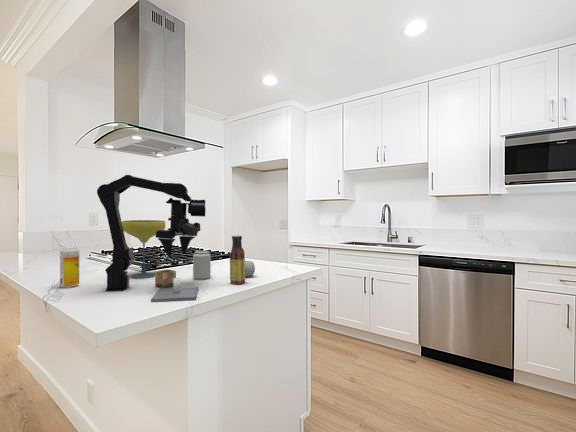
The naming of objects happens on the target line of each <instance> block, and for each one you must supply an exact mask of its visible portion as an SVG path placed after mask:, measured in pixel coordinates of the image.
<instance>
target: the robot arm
mask: <svg viewBox="0 0 576 432" xmlns="http://www.w3.org/2000/svg"><path fill="white" fill-rule="evenodd" d="M131 187H136V188H142V189H145V190H151V191H155V192H160V193H164V194H166V195H167V196H170V197H169V199H168V200H167V201H165V203H166V204H170V207H171V208H170V217H168V221H169V222H170V225H169V226H170V227H169V228H167V229H164V230H158V231H157V232H156V235H155V238H157V240H159V242H160V243H161V245H162V247H163V249H164V251H165V254H166V255H167V257H171V256H172V248H173V243H174V242H175V241H176V238H175V237H177V236H179V242H180V248H181V249H180V250H181V253H182V254H183V255H184V254H185V255H186V253H187V251H188V248H189V245H190V243H191V241H192V240H193V239H196V237H198V233H199V232H201V223H200V222H194V223H190V220H189V218H187V213H188V214H189V215H190V216H191V217H201V218H202V217H206V212H207V211H206V210H207V209H206V200H205V199H192V196H190V195H189V194H188V193H189V192H188V188H187V187H186V185H184V184H182V183H180V182H179V183H178V182H177V183H176V182H162V181H161V182H160V181H158V180H157V181H156V180H152V179H149V178H148V179H147V178H142V177H138V176H134V175H131V174H125V175H123V176H121V177H120V178H118V179H115V180H113V181H111V182H109V183H108V184H107V183H103V184H101V185H99V187H98V188H97V189H96V194H97V197H98V198H99V201H100V203H101V205H102V207H103V208H104V210H105V215H106V217H107V222H108V227H109V232H110V237H111V241H112V246H113V248H112V255H111V257H112V258H111V259H112V263H111V264H110V265H109V266H108V267H107V268H105V274H106V288H105V292H110V291H111V292H113V291H125V290H127V288H129V287H130V275H129V273H128V269H129V267H130V266H132V265H133V263H134V261H135V259H134V258H136V256H135V254H134V247H133V246H132V247H129V246H128V244H127V241H126V236H125V232H124V231H123V226H122V217H121V213H120V208H119V207H120V201H121V198H120V194H122V193H123V192H126V190H128V189H130V188H131ZM172 197H173V198H176V199H173V198H172ZM182 200H183V201H184V202H182Z"/></svg>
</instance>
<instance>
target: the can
mask: <svg viewBox="0 0 576 432" xmlns="http://www.w3.org/2000/svg"><path fill="white" fill-rule="evenodd" d="M211 257H212V255H211V254H210V251H209V250H197V251H194V254H193V255H192V264H193V265H192V278H194V280H198V281H199V280H208V279H209V278H210V277H211Z"/></svg>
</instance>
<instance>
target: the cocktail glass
mask: <svg viewBox="0 0 576 432" xmlns="http://www.w3.org/2000/svg"><path fill="white" fill-rule="evenodd" d="M121 222H122V226H123V231H124V233H126V234H128V235H129V236H132V237H134V238H135V239H138V240H139V241H140V243H142V246H143V247H142V269H141V270H142V271H141V272H139V273H135V274H132V275H129V278H132V279H148V278H149V279H150V278H153V277H155V273H154V272H147V271H146V262H145V258H146V257H145V255H146V254H145V253H146V252H145V249H146V247H145V246H146V245H145V244H146V243H148V241H149V240H150V239H151V238H152V237H154V236H155V237H156V232H157V231H158V230H166V220H153V219H151V220H150V219H149V220H148V219H147V220H146V219H145V220H144V219H143V220H142V219H141V220H140V219H139V220H132V219H131V220H121Z"/></svg>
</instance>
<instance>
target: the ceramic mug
mask: <svg viewBox="0 0 576 432" xmlns="http://www.w3.org/2000/svg"><path fill="white" fill-rule="evenodd" d="M255 270H256V267H255V263H254V262H253V261H251V260H245V278H248V277H253V276H254V274H255V272H256V271H255Z"/></svg>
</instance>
